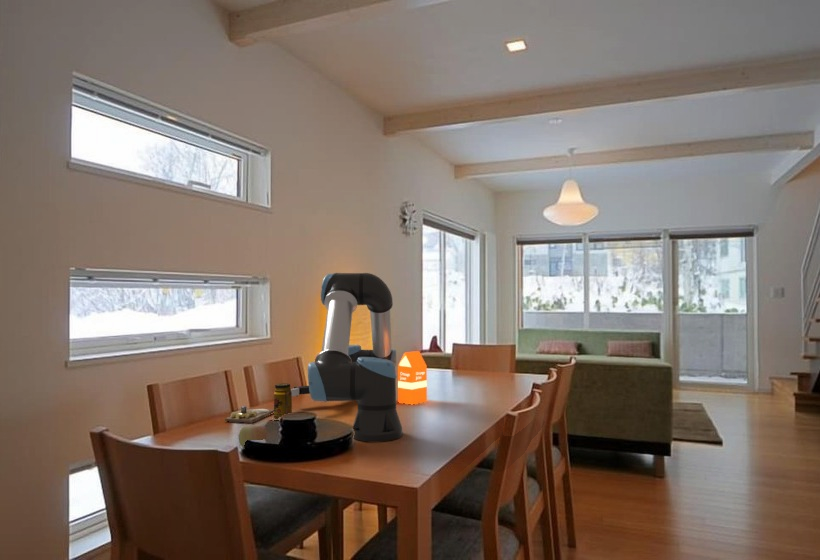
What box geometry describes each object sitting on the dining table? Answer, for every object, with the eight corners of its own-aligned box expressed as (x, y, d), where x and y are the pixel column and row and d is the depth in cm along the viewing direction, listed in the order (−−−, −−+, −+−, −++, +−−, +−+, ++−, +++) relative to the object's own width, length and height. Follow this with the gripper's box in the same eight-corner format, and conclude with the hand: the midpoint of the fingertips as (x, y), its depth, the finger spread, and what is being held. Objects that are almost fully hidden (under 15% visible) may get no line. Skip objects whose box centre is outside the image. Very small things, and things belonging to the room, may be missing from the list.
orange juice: (427, 401, 217) (426, 351, 217) (412, 405, 210) (411, 353, 211) (413, 399, 222) (412, 350, 223) (397, 402, 216) (397, 351, 216)
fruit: (243, 454, 146) (243, 424, 147) (235, 448, 152) (235, 419, 153) (271, 449, 150) (270, 420, 151) (262, 443, 157) (262, 415, 157)
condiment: (268, 420, 187) (268, 385, 187) (283, 415, 195) (282, 381, 195) (286, 422, 184) (286, 386, 184) (300, 416, 192) (300, 382, 192)
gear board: (252, 423, 182) (251, 419, 182) (225, 422, 185) (225, 417, 185) (274, 413, 198) (274, 409, 198) (249, 412, 200) (249, 408, 200)
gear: (248, 419, 183) (248, 409, 183) (225, 418, 185) (225, 409, 185) (261, 414, 191) (261, 404, 191) (239, 413, 193) (239, 404, 193)
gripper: (362, 399, 208) (326, 409, 190) (313, 394, 221) (274, 403, 203) (362, 379, 208) (326, 388, 190) (312, 375, 221) (274, 382, 203)
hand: (299, 395), depth 197 cm, fingers open, 13 cm apart
